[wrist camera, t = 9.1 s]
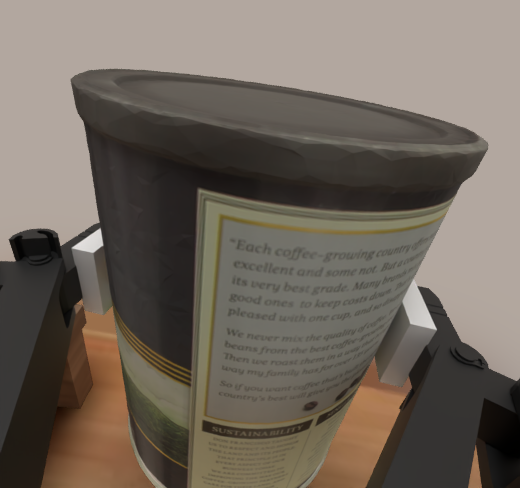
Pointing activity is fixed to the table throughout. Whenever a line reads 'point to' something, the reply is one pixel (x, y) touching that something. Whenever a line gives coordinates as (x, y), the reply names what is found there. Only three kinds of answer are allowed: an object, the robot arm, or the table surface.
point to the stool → (76, 367)
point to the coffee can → (255, 260)
